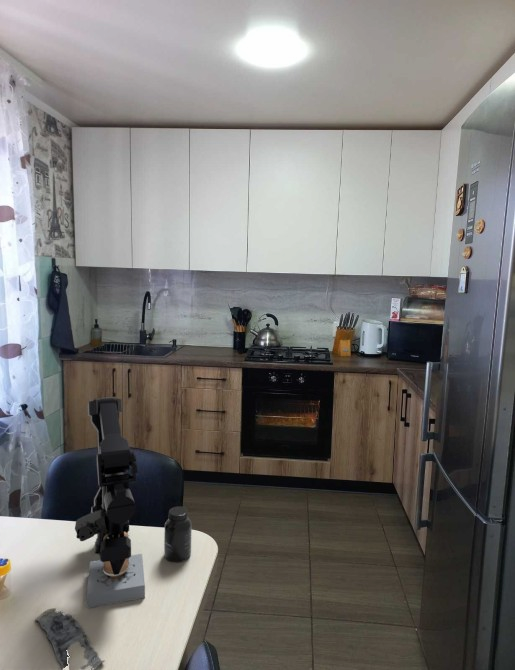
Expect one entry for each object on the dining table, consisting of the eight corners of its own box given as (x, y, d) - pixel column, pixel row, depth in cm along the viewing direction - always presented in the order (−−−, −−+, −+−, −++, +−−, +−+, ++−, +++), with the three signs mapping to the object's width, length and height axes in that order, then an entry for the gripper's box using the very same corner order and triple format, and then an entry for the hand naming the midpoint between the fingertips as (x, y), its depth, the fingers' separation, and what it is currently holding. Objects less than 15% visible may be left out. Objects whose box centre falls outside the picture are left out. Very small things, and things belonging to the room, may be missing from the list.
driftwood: (32, 619, 93) (32, 610, 93) (66, 605, 97) (66, 596, 97) (66, 690, 77) (66, 679, 77) (105, 668, 82) (105, 658, 82)
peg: (103, 573, 105) (103, 532, 104) (128, 569, 107) (128, 529, 106) (103, 588, 100) (102, 546, 99) (129, 584, 101) (129, 542, 100)
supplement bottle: (159, 560, 113) (159, 515, 112) (171, 545, 120) (171, 502, 118) (185, 565, 111) (185, 519, 110) (195, 549, 118) (195, 506, 117)
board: (90, 573, 107) (90, 561, 107) (142, 565, 111) (142, 553, 111) (87, 607, 96) (86, 594, 96) (144, 597, 99) (144, 585, 99)
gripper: (80, 487, 108) (81, 548, 109) (73, 527, 90) (74, 600, 92) (128, 482, 111) (129, 541, 113) (131, 520, 93) (131, 590, 95)
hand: (116, 566), depth 103 cm, fingers closed on peg, 5 cm apart
